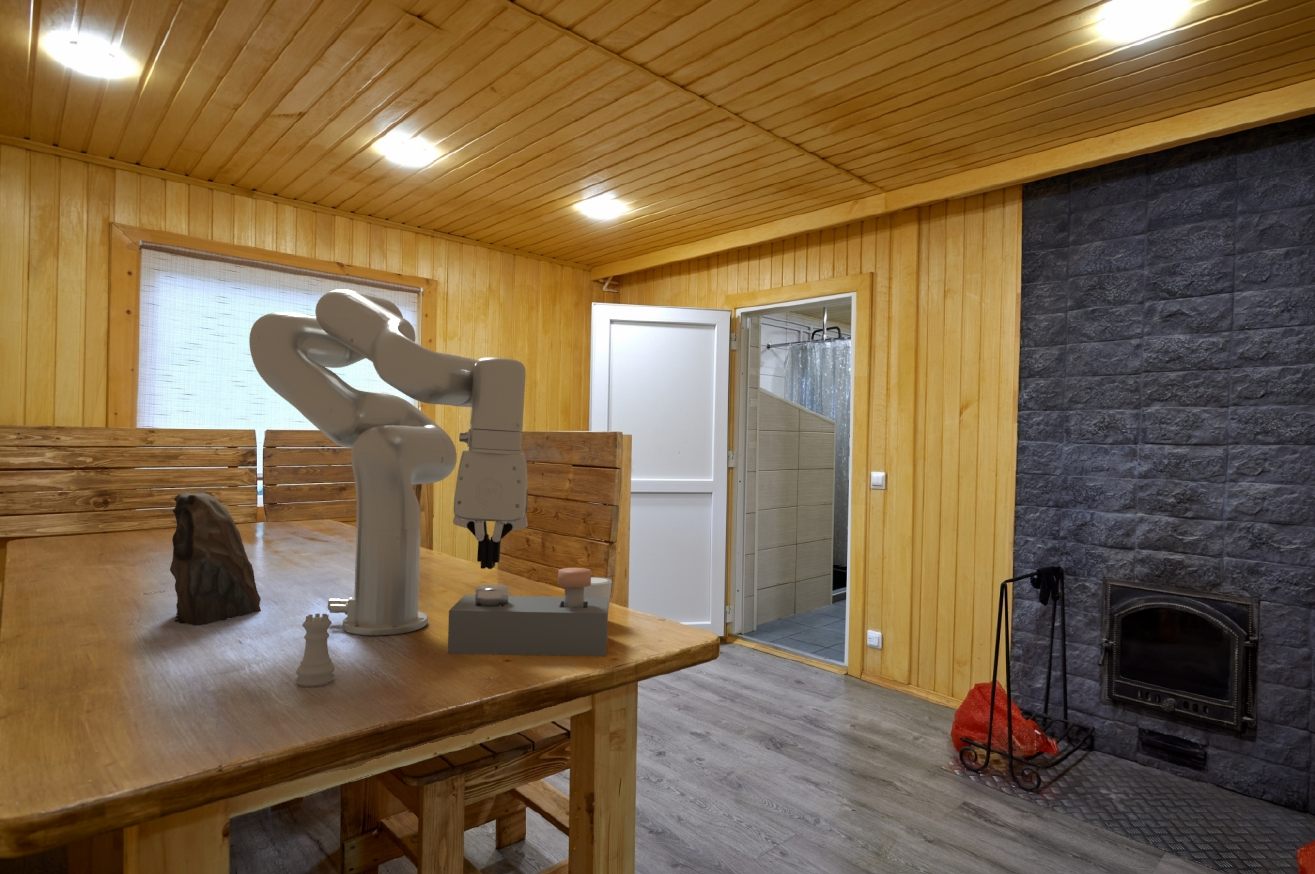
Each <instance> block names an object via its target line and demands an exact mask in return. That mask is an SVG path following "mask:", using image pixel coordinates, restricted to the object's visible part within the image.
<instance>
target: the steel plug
mask: <svg viewBox="0 0 1315 874" xmlns="http://www.w3.org/2000/svg"><path fill="white" fill-rule="evenodd" d="M474 589H475V590H474V593H475V594H474V595H475V603H476V604H479V605H482V606H501V605H502V604H506V603H508V601H509V596H510V594H509V593H510V588H509V586H508V585H505V584H504V585H503V584H483V585H479V586H476V587H475V588H474Z"/></svg>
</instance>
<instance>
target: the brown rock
mask: <svg viewBox="0 0 1315 874" xmlns="http://www.w3.org/2000/svg"><path fill="white" fill-rule="evenodd" d="M173 500H174V501H175V507H174V508H173V509H172V512H173V513H174V517H175V520H176V527H175V531H174V533H173V536H172V539H171V540H172V546H173V550H172V559H171V560H172V561H171V564H170V568H169V571H170V573H171V575H172V576H173V578H174V580H175V584H174V591H175V593H176V598H177V599H176V600H177V601H176V605H175V606H176V616H175V617H174V618H175V620H174V622H175V623H178V624H182V625H183V624H184V625H185V624H186V625H191V626H193V627H194V626H195V627H196V626H197V627H199V626H204V625H209V624H213V623H217V622H222V621H226V620H229V619H234V618H237V617H244V616H248V615H251V614H254V613H258V612H262V609H261V606H260V605H261V597H260V594H259V591H258V589H257V583H256V578H255V571H254V568H253V567H254V566H253V564H252V563H251V562H250V560H249V558H248V554H247V552H246V550H245V547H244V546H245V545H244V542H243V538H242V536H241V532H240V530H239V529H238V528H237V525H236V524H235V520H234V519H233V517H232V515H231V514H230V512H229V511H228V509H227V508H226V507H225V505H223V504H222V503H221V502H220V501H219V500H218V499H217V497H215V496H213V495H211V494H209V493H206V491H204V490H200V491H199V492H198V491H196V492H191V491H183V492H179V493H178V494H177V495H176V496H175V497H174V499H173Z"/></svg>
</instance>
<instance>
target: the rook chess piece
mask: <svg viewBox="0 0 1315 874" xmlns="http://www.w3.org/2000/svg"><path fill="white" fill-rule="evenodd" d="M320 615H321V614H320V613H315V614H314V617H313V614H308V615H307V616H305V621H304V622H302V627H303V629H304V630H305V635H304V636H303V638H304V640H305V648H304V652H303V653H304V654H303V656H302V660H301V661H300V663H299V664H300V665H299V666H298V667H297V668H296V672H295V674H296V675H297V677H295V681H294V682H295V683H296V684H297V686H298V685H299V687H302V688H315V687H323V686H326V685H329V684H330V683H332V682H333V681H334V680H335V678H336V674H335V673H334V671H335V670H336V667H335V665H334V663H333V662H332V659H331V658H330V655H329V647H328V646H329V645H328V638H329V637H330V634H329V633H328V629H329V628H330V626H331V625H332V621H331V620H330V619H329V614H327V613H322V615H321V616H320Z"/></svg>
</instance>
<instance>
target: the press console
mask: <svg viewBox="0 0 1315 874" xmlns="http://www.w3.org/2000/svg"><path fill="white" fill-rule="evenodd" d="M564 599H565V596H543V595H542V596H537V595H536V596H533V595H509V601H508V603H506V604H502V605H501V606H482V605H479V604H476V603H475V594H464V595H462V597H461V598H459V600H458V601H457V602H456V603H455V604H454V605H453V606H452V607H450V609H449V610H448V629H447V634H448V635H447V654H449V655H450V654H451V655H453V654H454V655H458V654H459V655H463V654H464V655H505V656H506V655H513V656H514V655H515V656H517V655H518V656H519V655H520V656H575V657H578V656H579V657H580V656H581V657H583V656H585V657H586V656H587V657H607V645H608V628H609V627H608V626H609V625H608V623H609V621H608V620H609V611H608V598H598V597H584V602H583V608H564Z"/></svg>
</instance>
